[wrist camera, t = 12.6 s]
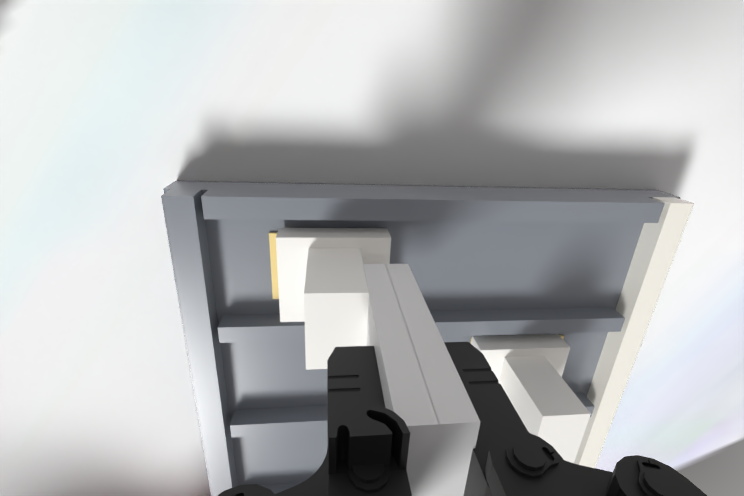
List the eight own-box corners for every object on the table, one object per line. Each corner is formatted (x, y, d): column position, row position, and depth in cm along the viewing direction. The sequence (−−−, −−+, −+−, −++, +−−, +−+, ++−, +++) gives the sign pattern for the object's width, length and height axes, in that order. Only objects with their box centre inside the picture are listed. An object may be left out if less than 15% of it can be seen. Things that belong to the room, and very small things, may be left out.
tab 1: (282, 308, 16) (268, 381, 12) (278, 227, 14) (262, 280, 10) (382, 306, 16) (400, 376, 12) (387, 228, 15) (408, 279, 11)
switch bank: (219, 477, 21) (209, 517, 19) (175, 180, 15) (153, 195, 13) (569, 453, 23) (591, 487, 21) (657, 190, 17) (699, 203, 15)
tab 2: (462, 396, 18) (498, 478, 15) (472, 336, 17) (515, 409, 13) (541, 392, 19) (596, 471, 15) (557, 333, 18) (622, 403, 14)
